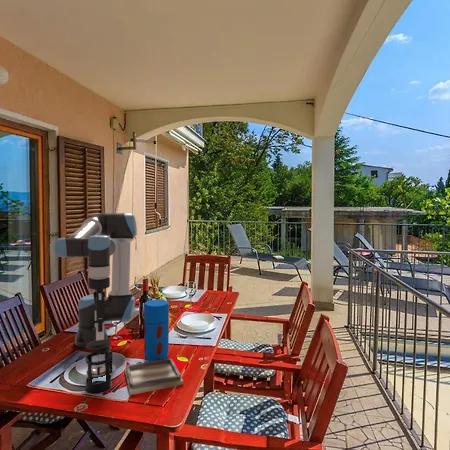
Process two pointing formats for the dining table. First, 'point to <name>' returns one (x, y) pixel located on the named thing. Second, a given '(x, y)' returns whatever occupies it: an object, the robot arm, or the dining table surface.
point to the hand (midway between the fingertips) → (99, 332)
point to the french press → (99, 365)
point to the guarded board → (152, 376)
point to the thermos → (156, 329)
